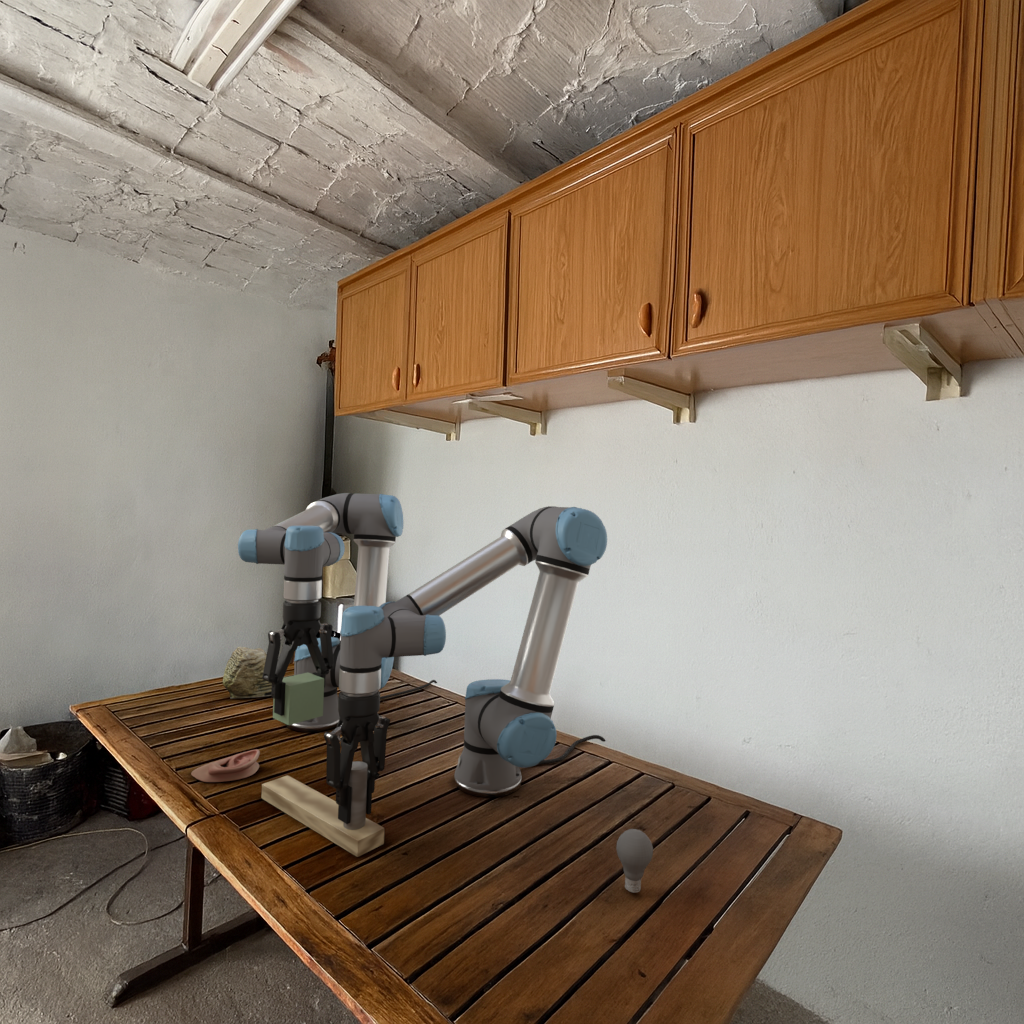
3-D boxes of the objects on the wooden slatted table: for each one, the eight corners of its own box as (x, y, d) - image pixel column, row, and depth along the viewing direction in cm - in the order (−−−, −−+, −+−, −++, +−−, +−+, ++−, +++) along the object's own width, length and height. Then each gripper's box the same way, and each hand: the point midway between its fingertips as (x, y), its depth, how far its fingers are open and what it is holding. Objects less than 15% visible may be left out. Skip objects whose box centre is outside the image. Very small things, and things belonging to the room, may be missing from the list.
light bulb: (610, 879, 108) (613, 822, 108) (644, 879, 109) (647, 822, 109) (619, 902, 102) (622, 840, 102) (655, 901, 103) (658, 840, 103)
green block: (306, 708, 137) (308, 672, 137) (323, 715, 133) (324, 678, 133) (272, 717, 131) (273, 679, 131) (288, 725, 127) (289, 686, 127)
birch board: (287, 788, 137) (289, 724, 136) (383, 843, 117) (386, 768, 116) (261, 798, 132) (263, 731, 132) (357, 857, 112) (360, 779, 112)
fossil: (218, 695, 195) (220, 647, 195) (278, 685, 208) (279, 640, 207) (228, 703, 189) (230, 653, 188) (289, 692, 201) (290, 645, 201)
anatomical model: (182, 760, 139) (216, 741, 150) (181, 778, 139) (216, 758, 150) (236, 768, 136) (267, 748, 147) (235, 786, 136) (266, 765, 147)
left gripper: (334, 593, 142) (330, 693, 142) (245, 602, 126) (241, 716, 126) (354, 597, 137) (350, 701, 138) (264, 608, 121) (260, 726, 122)
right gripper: (382, 677, 126) (378, 794, 126) (307, 696, 113) (302, 826, 113) (408, 685, 121) (403, 806, 122) (332, 706, 108) (327, 841, 108)
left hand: (298, 708), depth 132 cm, fingers closed on green block, 8 cm apart
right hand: (354, 815), depth 117 cm, fingers closed on birch board, 4 cm apart
